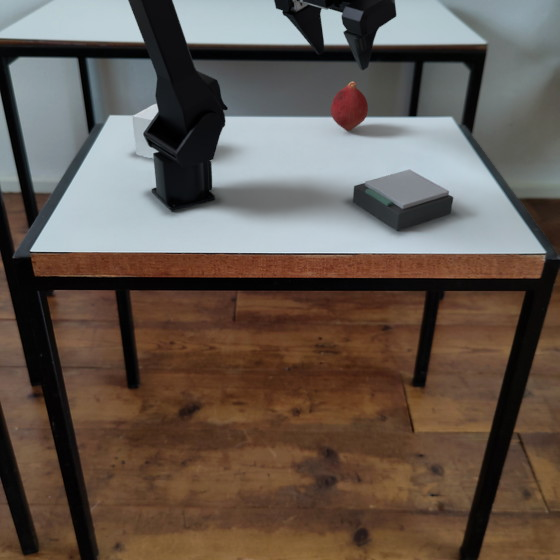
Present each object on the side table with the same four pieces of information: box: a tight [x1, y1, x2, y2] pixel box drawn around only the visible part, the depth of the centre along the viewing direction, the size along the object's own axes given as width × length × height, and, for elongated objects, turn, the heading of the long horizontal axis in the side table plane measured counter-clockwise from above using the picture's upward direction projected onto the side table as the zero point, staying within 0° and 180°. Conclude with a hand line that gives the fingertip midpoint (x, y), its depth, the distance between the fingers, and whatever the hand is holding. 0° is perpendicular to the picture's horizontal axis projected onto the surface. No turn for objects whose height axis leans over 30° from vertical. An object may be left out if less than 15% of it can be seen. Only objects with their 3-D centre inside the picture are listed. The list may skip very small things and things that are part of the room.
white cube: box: [131, 103, 158, 160], centre depth 102 cm, size 6×6×6 cm
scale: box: [352, 169, 454, 232], centre depth 89 cm, size 9×9×3 cm
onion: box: [330, 81, 369, 132], centre depth 110 cm, size 6×6×8 cm
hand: (342, 60), depth 98 cm, fingers open, 9 cm apart
